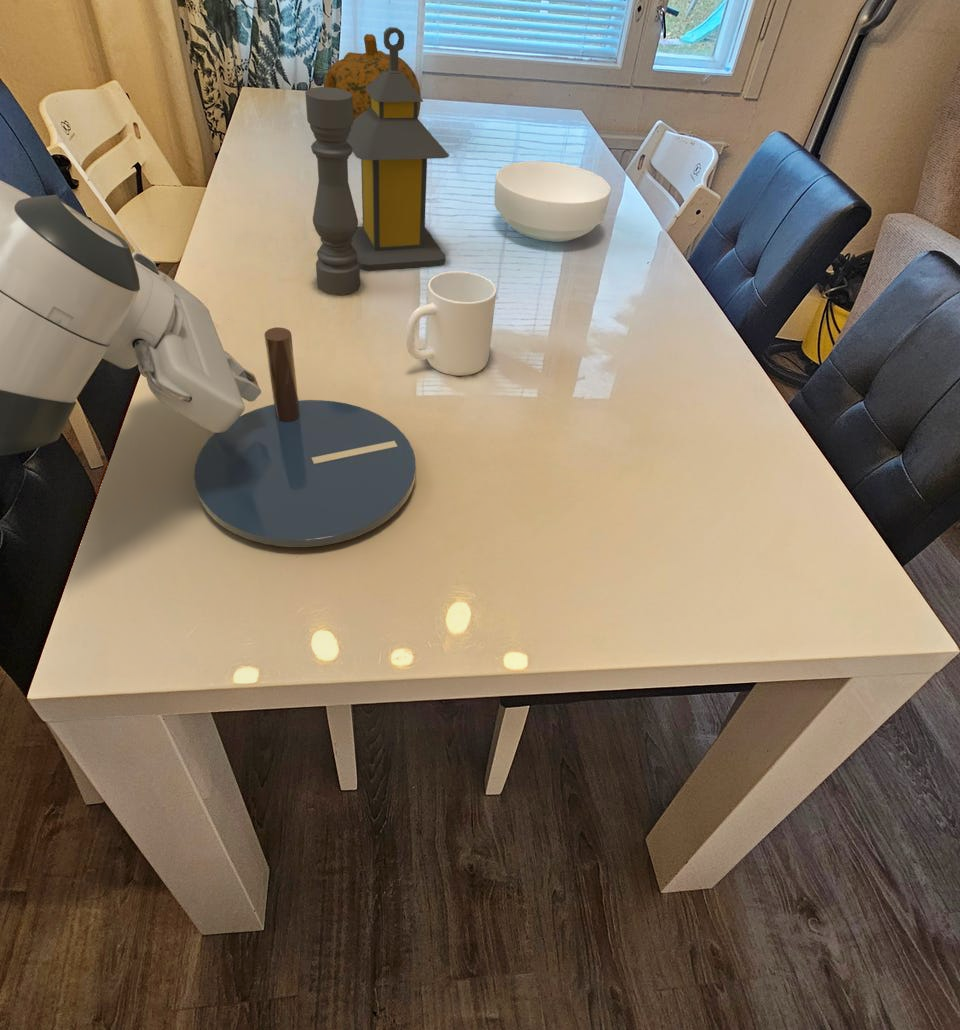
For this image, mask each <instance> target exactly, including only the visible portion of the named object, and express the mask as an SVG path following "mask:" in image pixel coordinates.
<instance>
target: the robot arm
mask: <svg viewBox="0 0 960 1030" xmlns="http://www.w3.org/2000/svg"><path fill="white" fill-rule="evenodd" d="M102 359H103V360H104V361H107V362H109V363H110V364H112V365H114V366H117V367H118V368H120V369H123V370H130V369H132V368H134V367H136V366H137V367H138V368H137V369H138V371H139V373H140V375H141V376H142V377H143V378H146V381H147V386H148V388H149V390H150V392H151V394H153V396H155V398H157V399H158V400H159V401H160V402H161V403H163V405H165V406H167V407H168V408H170V409H172V410H173V411H175V412H176V413H178V414H180V415H181V416H183V417H185V418H187V419H188V420H190V421H191V422H193V423H195V424H197V425H199V426H200V427H202V428H204V429H206V430H208V431H210V432H212V433H214V434H215V433H223V432H226V431H227V430H228V429H229V428H230V427H231V426H232V425H233V424H234V423H235V422H236V420H237V419H238V418H239V417H240V416H242V415H243V413H244V412H245V409H246V407H245V406H246V405H245V403H244V400H245V401H248V402H249V403H250V402H251V403H252V402H255V401H256V400H257V398H258V397H259V396H260V395H261V393H262V389H261V388H260V385H259V383H258V380H257V377H256V375H255V374H254V373H253V372H251V371H249V370H248V369H246V368H244V367H243V366H242V365H241V363H239V362H238V361H237V360H236V359H235V358H234V357H233V356H232V355H231V353H229V352H228V351H226V350H225V349H224V347H223V345H222V342H221V339H220V337H219V334H218V331H217V329H216V326H215V323H214V320H213V318H212V315H211V311H210V310H209V308H208V307H207V306H206V305H205V304H204V303H203V302H202V301H201V300H200V299H199V298H198V297H197V296H196V295H194V294H193V293H191V291H189V290H188V289H186V288H185V287H183V286H182V285H181V284H180V283H178V282H177V281H175V280H174V279H173V278H171V277H170V276H169V275H167V274H166V273H164V272H162V271H160V270H159V269H158V268H157V265H156V263H155V261H153V259H151V258H150V257H148V256H147V255H146V254H144V253H143V252H140V251H138V250H134V251H133V252H131V248H130V245H129V244H128V243H127V241H126V240H125V239H124V238H123V237H121V236H120V235H119V234H116V233H115V232H113V231H112V230H110V229H108V228H106V227H104V226H102V225H100V224H98V223H97V222H95V221H94V220H92V219H91V218H89V217H87V215H84V214H83V213H81V212H80V211H78V210H77V209H75V208H74V207H72V206H71V205H69V204H68V203H66V202H65V201H64V200H63V199H62V198H60V197H59V195H57V194H50V195H41V196H31V195H29V194H27V193H25V192H24V191H22V190H20V189H18V188H16V187H14V186H13V185H11V184H9V183H6V182H5V181H3V180H1V179H0V456H11V455H17V454H22V453H26V452H30V451H33V450H37V449H39V448H42V447H44V446H48V445H49V444H52V443H54V442H56V441H58V440H59V439H60V437H61V434H62V433H63V431H64V429H65V427H66V425H67V422H68V421H69V419H70V417H71V415H72V412H73V410H74V408H75V407H76V404H77V402H76V400H77V399H78V397H79V395H80V394H81V393H82V391H83V389H84V387H85V386H86V385H87V383H88V381H89V380H90V378H91V376H92V375H93V373H94V371H95V370H96V368H97V367H98V366H99V364H100V362H101V361H102ZM243 399H244V400H243Z"/></svg>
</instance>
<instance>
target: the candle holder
mask: <svg viewBox="0 0 960 1030" xmlns="http://www.w3.org/2000/svg"><path fill="white" fill-rule="evenodd" d="M304 95H305V106H306V120H307V122H308V124H309V128H310V130H311V132H312V133H313V136H314V138H315V141H313V143H312V144H311V145H310V150H311V152H312V154H313V155H315V157H316V159H317V160H316V162H317V174H318V175H317V178H318V181H317V182H318V183H317V187H316V189H317V190H316V195H315V201H314V207H313V214H312V224H313V227H314V229H315V232H316V234H317V235H318V236H319V237H320V238H319V239H320V242H321V245H320V247H318V249H317V252H316V256H317V260H316V262H315V272H316V284H317V288H318V290H320V291H321V292H322V293H325V294H328V295H333V296H348V295H351V294H354V293H356V292H357V291H359V289H360V287H361V271H360V270H361V269H360V265H359V262H358V260H356V258H357V256H358V255H357V252H356V250H355V249H354V248H353V246H352V245H351V242H352V241H353V240H352V237H353V236H354V234H355V232H356V230H357V227H359V219H358V214H357V210H356V208H355V204H354V200H353V196H352V192H351V191H352V190H351V188H350V184H349V170H348V169H349V167H348V166H349V164H348V163H349V162H348V160H349V157H350V156H351V155H352V154H353V151H352V147H351V145H350V144H349V143H347V139H348V136H349V133H350V132H351V126H352V124H353V96H352V94H351V93H350V92H348V91H346V90H343V89H338V88H331V87H324V86H320V87H312V88H309V89H307V90H305V92H304Z"/></svg>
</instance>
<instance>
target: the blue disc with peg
mask: <svg viewBox="0 0 960 1030" xmlns="http://www.w3.org/2000/svg"><path fill="white" fill-rule="evenodd" d="M263 335H264V343H265V350H266V355H267V356H266V358H267V364H268V370H269V371H268V372H269V378H270V386H271V394H272V400H273V401H272V402H273V404H270V405H265V406H262V407H260V408H256V409H254V410H250V411H249V412H246V413H244V414H241V416H240V417H239V418H238V419H237V420H236V422H235V423H234V424H233V425H232V426H231V427H230V428H229V429H228V430H227V431H226V432H223V433H215V432H214V433H213V435H211V437H209V438H208V439H207V441H205V444H204V445H203V446H202V448H201V450H200V452H199V453H198V456H197V458H196V461H195V465H194V471H193V472H194V473H193V478H194V480H193V481H194V486H195V490H196V493H197V497H198V499H199V501H200V504H201V505H202V507H203V509H204V510H205V511H206V513H207V514H208V515H209V516H210V517H211V518H212V519H213V521H215V522H216V523H217V524H219V525H220V526H221V527H222V528H224V529H226V530H227V531H230V532H231V533H233V534H235V535H237V536H239V537H241V538H244V539H245V540H249V541H253V542H256V543H259V544H264V545H270V546H274V547H284V548H285V547H286V548H311V547H312V548H313V547H321V546H322V547H323V546H327V545H333V544H338V543H342V542H344V541H345V542H346V541H348V540H349V541H350V540H352V539H354V538H357V537H360V536H362V535H365V534H367V533H369V532H371V531H373V530H374V529H377V528H378V527H380V526H382V525H383V524H384V523H385V522H387V521H388V520H390V519H391V518H392V517H393V516H394V515H395V514H397V513H398V511H400V509H401V508H402V507H403V506H404V504H405V503H406V502H407V501H408V498H409V497H410V495H411V493H412V491H413V488H414V485H415V481H416V473H417V471H416V470H417V465H416V463H417V462H416V456H415V453H414V448H413V446H412V445H411V443H410V441H409V439H408V438H407V436H406V435H405V433H404V432H402V431H401V429H399V427H397V426H396V425H395V424H393V422H391V421H390V420H389V419H387V418H385V417H383V416H382V415H380V414H378V413H376V412H374V411H372V410H369V409H368V408H364V407H360V406H358V405H354V404H350V403H346V402H340V401H335V400H324V399H323V400H322V399H303V400H301V399H300V400H299V394H298V392H299V391H298V384H297V383H298V382H297V375H296V365H295V357H294V356H295V355H294V347H293V346H294V345H293V337H292V332H291V331H290V329H288V328H285V327H279V326H278V327H277V326H276V327H271V328H268V329H267V330H266V331H265V332H264V334H263Z"/></svg>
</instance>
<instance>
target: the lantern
mask: <svg viewBox="0 0 960 1030" xmlns="http://www.w3.org/2000/svg"><path fill="white" fill-rule="evenodd" d="M393 34H397V37H398V39H397V42H396V43H395V44H391V40H390V38H391V35H393ZM383 45H384V48H385V49H386V50H389V54H390V69H386V70H384V71H383V72H382V73H381V74H380V75H379V76H378V77H377V78H376V79H375V80H374V81H373V82H371V83H370V84H369V85H368V86H367V87H366V88H365V90H366V91H367V92H368V93H369V95H370V96H371V107H370V108H368V109H367V110H366V111H365V112H363V113H362V114H361V115H360V116H358V117H357V118H356V119H355V120H353V124H352V126H351V132H350V133H349V136H348V139H347V143H349V144H350V145H351V147H352V154H354V156H355V157H356V158H357V159H359V160H360V162H361V163H360V165H361V166H360V167H361V203H362V205H361V206H362V207H361V208H362V209H361V210H362V226H358V227H357V230H356V232H355V234H354V236H353V237H352V240H353V241H352V242H351V245H352V246H353V248H354V249H355V250H356V252H357V255H358V256H357V258H356V260H358V262H359V265H360V270H362V271H365V272H366V271H368V272H371V271H385V270H386V271H387V270H397V269H398V270H399V269H412V268H414V269H415V268H425V267H441V266H443V265H445V263H446V254H445V253H444V251H443V250H442V248H441V247H440V246H439V245H438V243H437V242H436V239H434V237H433V236H432V234H431V233H430V231H429V230H428V229H427V228H426V206H427V205H426V202H427V200H426V199H427V175H428V174H427V172H428V160H430V159H448V158H449V156H450V154H449V153H448V152H447V151H446V150H445V148H444V147H443V146H442V145H441V143H439V142H438V140H437V139H436V138H435V137H434V135H433V134H431V132H430V130H428V129H427V128H426V127H425V125H424V124H423V123H422V122H421V121H420V120H419V117H418V118H417V102H421V103H423V102H424V100H423V98H422V97H420V96H419V95H418V93H417V92H416V91H415V89H414V88H413V87H412V85H411V84H410V83H409V81H408V80H407V79H406V77H405V76H404V75H403V73H402V72H401V71H400V70H398V57H399V52H400V51H402V50H403V49H404V47H405V34H404V32H403V31H402V30H401V29H399V28H398V27H393V26H391V27H390V26H389V27H387V28H386V29H385V30H384V32H383Z"/></svg>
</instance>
